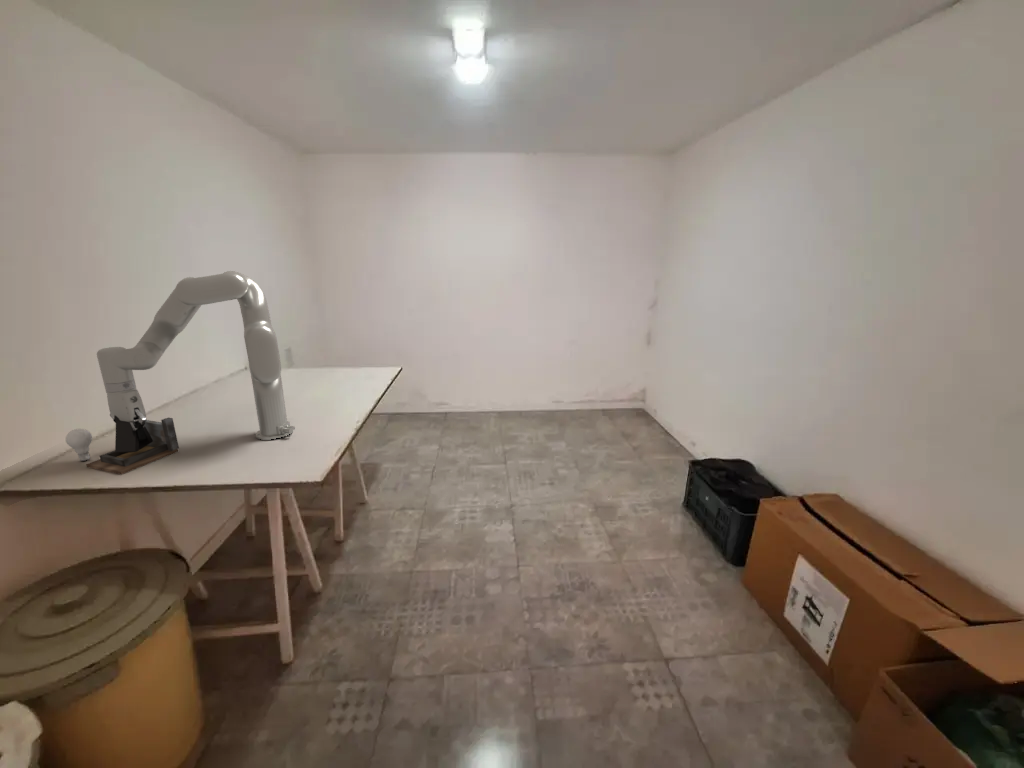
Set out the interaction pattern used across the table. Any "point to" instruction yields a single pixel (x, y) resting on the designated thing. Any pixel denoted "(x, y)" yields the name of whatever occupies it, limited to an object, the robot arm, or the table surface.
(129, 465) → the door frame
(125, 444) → the phone stand
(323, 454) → the table surface
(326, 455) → the table surface
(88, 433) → the lightbulb
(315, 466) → the table surface
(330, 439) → the table surface
